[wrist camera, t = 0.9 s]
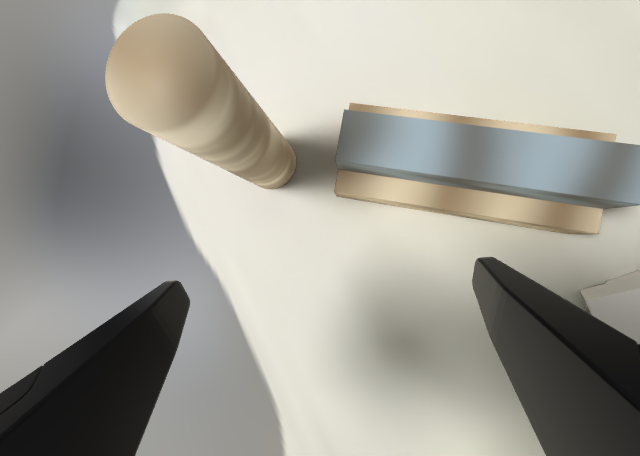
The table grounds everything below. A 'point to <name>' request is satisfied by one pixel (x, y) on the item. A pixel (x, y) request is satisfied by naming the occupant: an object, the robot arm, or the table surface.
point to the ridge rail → (473, 199)
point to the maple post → (194, 100)
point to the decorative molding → (617, 303)
